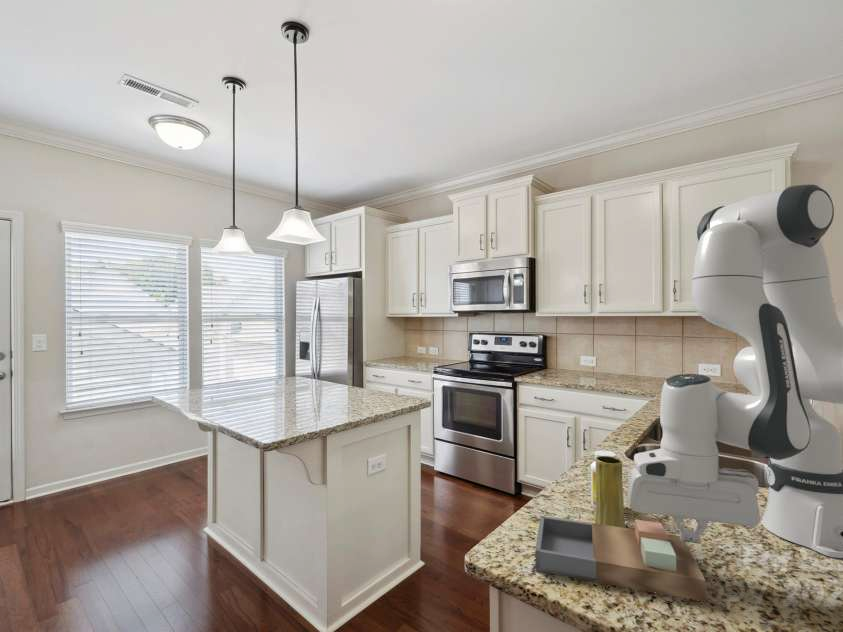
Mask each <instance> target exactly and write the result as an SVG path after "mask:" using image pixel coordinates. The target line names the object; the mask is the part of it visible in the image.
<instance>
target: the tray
mask: <svg viewBox="0 0 843 632" xmlns="http://www.w3.org/2000/svg"><path fill="white" fill-rule="evenodd" d="M539 517H540V518H539V522H538V523H539V524H538V531H537V538H536V546H535V551H534V552H535V571H537V572H542V573H546V574H553V575H559V576H564V577H570V578H572V579H573V578H574V579H580V580H584V581H589V582H596V559H594V554H593V545H592V523H593V522H586V521H578V520H572V519H565V518H559V517H551V516H545V515H540V516H539ZM596 583H597V582H596Z"/></svg>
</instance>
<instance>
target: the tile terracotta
mask: <svg viewBox="0 0 843 632" xmlns="http://www.w3.org/2000/svg"><path fill="white" fill-rule="evenodd" d="M634 529H635V534H636V537H637V540H638V543H639V544H640V545H641V538H648V539H655V540H661V541H667V535H666V534H667V532H666V530H665V529H664V527H663V524H662V522H656V521H649V520H641V519H634Z"/></svg>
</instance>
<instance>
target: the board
mask: <svg viewBox="0 0 843 632" xmlns="http://www.w3.org/2000/svg"><path fill="white" fill-rule="evenodd" d="M591 523H592V545H593V554H594V559H596V583H601V584H606V585H611V586H617V587H621V588H628V589H632V590H637V589H638V591H643V592H647V591H648V593H654V592H656V593H654V594H658V593H661V594H660V595H663V594H666V595H665V596H669V595H671V596H670V597H674V596H675V598H679V597H681V599H685V598H686V600H690V599H692V600H691V601H695V600H699V601H698V602H700V601H705V602H704V603H707V599H706V598H707V594H706V592H707V591H706V589H707V588H706V587H707V586H706V583H707V582H706V579H705V576H704V574H703V573H702V571H701V569H700V567H699V565H698V563H697V561H696V559H695V558H694V556H693V554H692V551H691V550H690V548H689V546H688V544H687V542H683V541H681V539H680V535H677V534H670V533H669V534H668V533H666V535H667V541H668V542H670V544H671V546H672V548H673V550H674V552H675V555H676V571H673V570H667V569H661V568H656V567H650V566H645V563H644V560H643V556H642V553H641V545H640V544H639V543H638V540H637V537H636V534H635V528H634V529H633V528H629V527H628V528H627V527H625V528H622V527H615V526H608V525H601V524H595V522H594V523H593V522H591Z"/></svg>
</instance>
